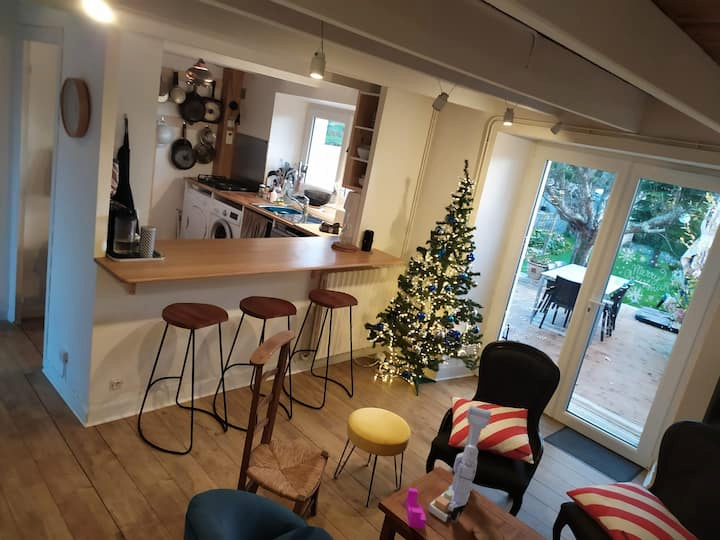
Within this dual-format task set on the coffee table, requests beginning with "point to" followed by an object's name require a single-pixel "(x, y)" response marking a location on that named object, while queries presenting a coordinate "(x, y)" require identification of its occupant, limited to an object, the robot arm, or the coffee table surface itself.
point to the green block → (448, 494)
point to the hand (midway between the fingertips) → (455, 517)
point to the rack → (437, 511)
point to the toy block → (414, 510)
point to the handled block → (444, 506)
